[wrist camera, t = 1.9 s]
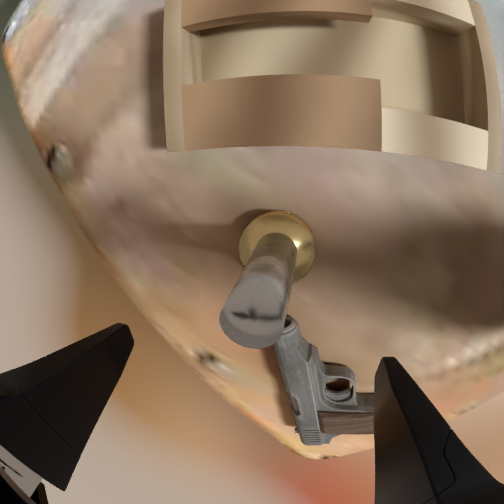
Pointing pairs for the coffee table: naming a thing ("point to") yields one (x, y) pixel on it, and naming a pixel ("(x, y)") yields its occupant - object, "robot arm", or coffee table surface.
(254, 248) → the peg
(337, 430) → the handgun
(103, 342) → the robot arm
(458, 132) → the keyhole board
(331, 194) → the coffee table surface
